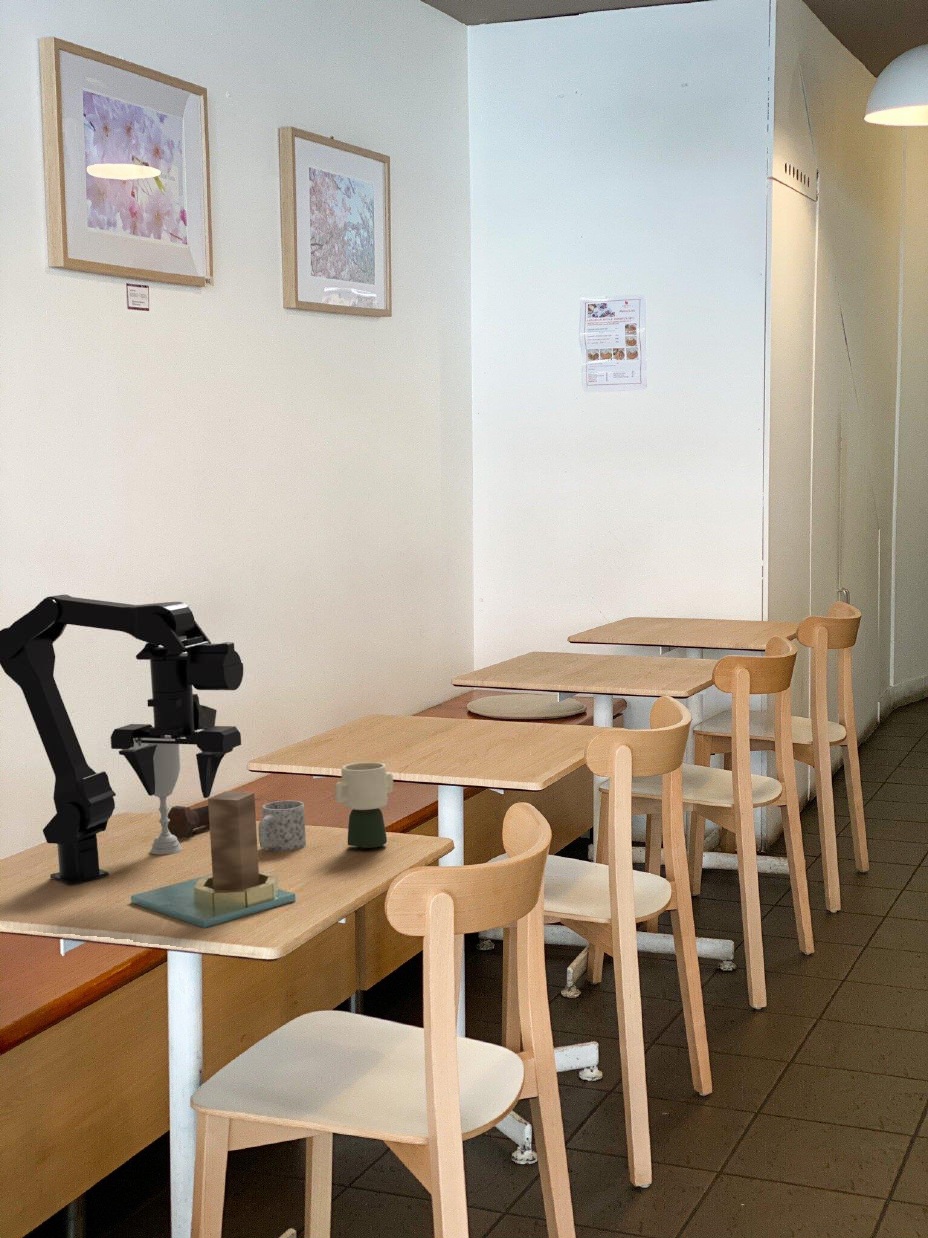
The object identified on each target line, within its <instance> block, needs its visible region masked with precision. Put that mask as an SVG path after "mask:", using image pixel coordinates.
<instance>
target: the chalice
mask: <svg viewBox="0 0 928 1238" xmlns="http://www.w3.org/2000/svg"><path fill="white" fill-rule="evenodd" d="M165 737H166V738H167V737H169V738H170V737H171V736H169V735H165ZM149 744H157V747H156V750H155V753H154V757H153V760H154V774H155V794H154V795H153V796H154V797H156V798H159V803H160V804H159V808H158V811H159V812H160V818H159V820H158V822H159V823H160V825H161V832H160V833H159V835H157V836H156V837H155V838H154V839H153V843H152V845H151V849H150V851H149V852H150V853H151V854H153V855H158V856H159V855H170V854H175V853H179V852H181V851H182V850H183V847H182V845H180V842H179V840H178V837H176V836H175V835H172V834H171V833H170V832H169V830H168V822H169V821H170V820H169V819H168V817H167V815H168V812H169V810H170V809H169V807H168V805H167V797H169V796H172V794H173V791H174V789H175V787H176V784H177V782H178V779H179V774H180V771H181V759H180V758H181V756H180V744H159V743H149Z"/></svg>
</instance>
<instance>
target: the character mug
mask: <svg viewBox="0 0 928 1238" xmlns="http://www.w3.org/2000/svg"><path fill="white" fill-rule="evenodd" d="M340 769H341V771H340V772H341V781H338V782H336V783H335V785H334V792H335V793H334V794H335V801H336V803H338V804H342V803H343V805H344V807H346V808H347V809H349V810H350V809H351V811H350V814H349V816H348V817H349V818H348V828H347V846H350V847H351V846H352V847H357V848H358V850H361V849H363V848H364V849H365V848H366V849H367V848H379V847H382V846H384V845H386V844H387V842H388V838H387V831H386V825H385V822H384V815H383V812H382V809H380V808H382V807H385V806H386V805H387V804H388V794H389V793H391V792H393V791H394V776H393V774H392V772H389V771H388V772H387V766H386V763H382V762H377V761H376V762H374V761H363V762H362V761H361V762H360V761H359V762H353V763H352V762H351V763H348V764H344V765H343V766H341V768H340Z"/></svg>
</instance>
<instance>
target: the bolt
mask: <svg viewBox="0 0 928 1238" xmlns="http://www.w3.org/2000/svg"><path fill="white" fill-rule="evenodd" d="M167 817H168V819H169V820H170V821H169V822H168V831H169V832H170V833H169V834H172V835H175V836H176V837H177V838H181V839H184V838H185V839H186V838H190V837H192V836H193V833H194V830H195V829H198V828H201V827H204V826H210V824H209V807H208V805H205V806H201V807H197V808H193V809H191V808H190V807H189V806H180V805H175V806H172V807H171V808H170V809H169V810H168V812H167Z"/></svg>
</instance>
